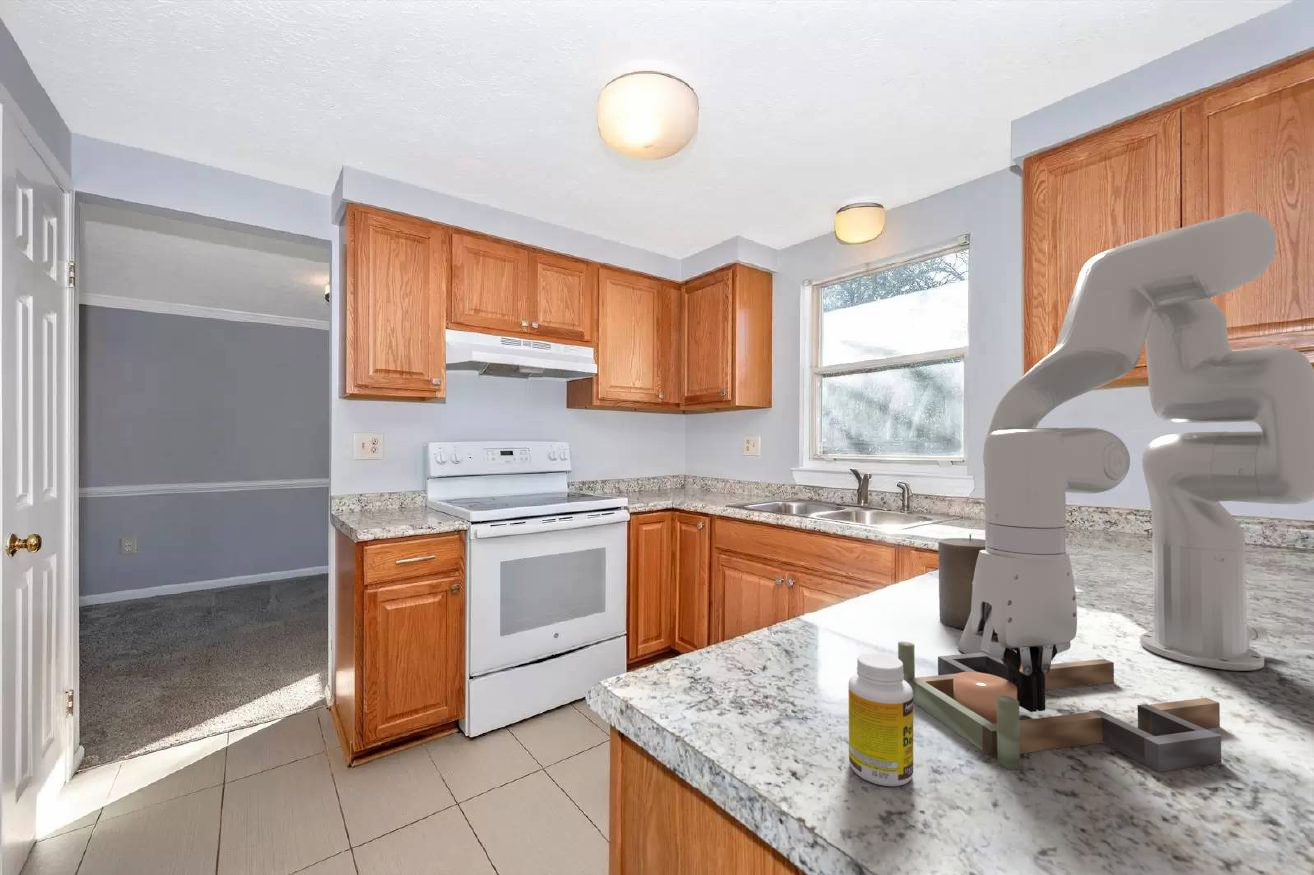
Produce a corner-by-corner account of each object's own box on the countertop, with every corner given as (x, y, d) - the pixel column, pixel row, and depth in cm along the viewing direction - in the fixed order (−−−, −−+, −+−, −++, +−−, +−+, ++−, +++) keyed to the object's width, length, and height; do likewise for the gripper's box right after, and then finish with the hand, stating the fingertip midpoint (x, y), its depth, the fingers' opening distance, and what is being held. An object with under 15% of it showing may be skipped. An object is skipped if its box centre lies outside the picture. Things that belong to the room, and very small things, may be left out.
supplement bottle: (913, 796, 48) (912, 676, 48) (845, 780, 50) (844, 665, 50) (914, 763, 53) (913, 654, 53) (852, 749, 55) (851, 645, 55)
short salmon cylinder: (987, 704, 64) (987, 670, 64) (1031, 730, 58) (1031, 692, 58) (941, 709, 63) (941, 674, 63) (981, 736, 57) (981, 697, 57)
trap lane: (1067, 663, 76) (1066, 619, 76) (1283, 752, 54) (1282, 690, 54) (880, 681, 71) (880, 634, 71) (1036, 790, 48) (1035, 721, 48)
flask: (1024, 664, 76) (1023, 591, 76) (966, 660, 77) (965, 588, 78) (1002, 646, 83) (1001, 578, 83) (950, 642, 85) (949, 576, 85)
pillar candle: (1018, 632, 89) (1016, 538, 89) (956, 632, 89) (955, 538, 89) (983, 615, 98) (982, 530, 99) (928, 614, 98) (926, 529, 99)
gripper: (1050, 532, 67) (1052, 685, 67) (941, 537, 64) (943, 697, 64) (1112, 543, 60) (1115, 715, 59) (993, 549, 57) (996, 730, 56)
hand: (1026, 705), depth 62 cm, fingers closed
